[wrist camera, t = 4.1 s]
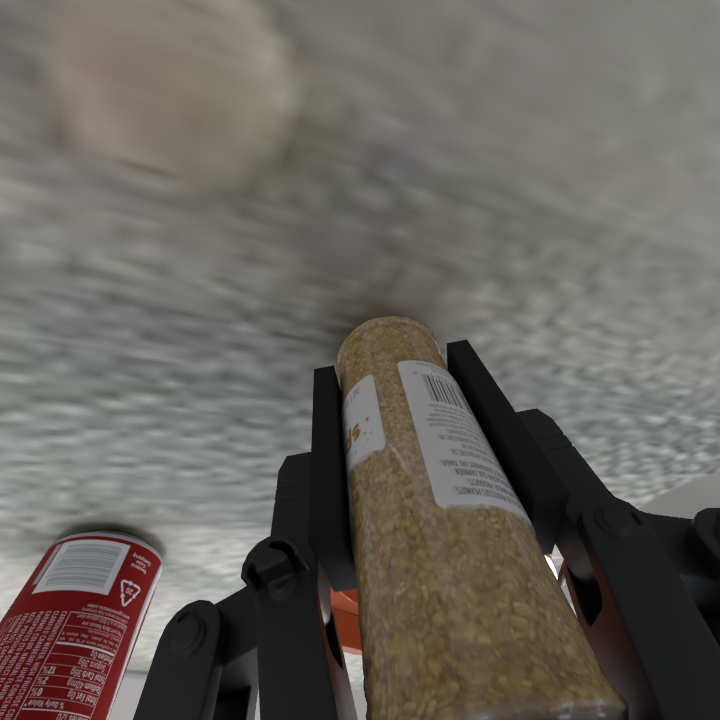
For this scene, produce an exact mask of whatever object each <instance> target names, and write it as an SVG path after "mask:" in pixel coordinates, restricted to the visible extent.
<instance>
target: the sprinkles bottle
mask: <svg viewBox="0 0 720 720" xmlns="http://www.w3.org/2000/svg"><path fill="white" fill-rule="evenodd" d="M336 373H337V376H338V378H339V380H340V388H341V401H342V412H341V422H342V434H343V445H344V456H345V468H346V482H347V496H348V510H349V523H350V536H351V547H352V552H353V556H354V559H355V572H356V583H357V594H358V613H359V630H360V639H361V649H362V661H363V673H364V692H365V698H366V701H367V713H366V720H629V710H628V704H627V702H626V700H625V699H624V698H623V697H622V696H621V695H620V694H619V693H618V692H617V691H616V690H615V688H614V687H613V686H612V684H611V683H610V681H609V680H608V678H607V677H606V675H605V673H604V672H603V670H602V668H601V666H600V663H599V660H598V658H597V656H596V654H595V652H594V650H593V648H592V646H591V644H590V642H589V640H588V638H587V636H586V634H585V632H584V631H583V629H582V627H581V625H580V623H579V621H578V619H577V617H576V615H575V613H574V612H573V610H572V608H571V606H570V604H569V602H568V601H567V599H566V597H565V595H564V593H563V591H562V589H561V587H560V585H559V583H558V581H557V579H556V576H555V574H554V572H553V571H552V569H551V567H550V566H549V564H548V562H547V560H546V557H545V556H544V554H543V552H542V550H541V547H540V545H539V543H538V542H537V540H536V534H535V530H534V528H533V526H532V523H531V521H530V519H529V517H528V515H527V513H526V511H525V510H524V508H523V506H522V504H521V502H520V500H519V498H518V497H517V495H516V493H515V491H514V489H513V487H512V485H511V483H510V481H509V480H508V478H507V476H506V474H505V472H504V470H503V468H502V466H501V464H500V462H499V461H498V459H497V457H496V455H495V453H494V451H493V449H492V447H491V445H490V444H489V442H488V440H487V438H486V436H485V434H484V432H483V430H482V428H481V427H480V425H479V423H478V421H477V419H476V417H475V415H474V413H473V411H472V410H471V408H470V406H469V404H468V402H467V400H466V398H465V396H464V394H463V392H462V391H461V389H460V387H459V385H458V383H457V382H456V380H455V379H454V378H453V377H452V376H451V375H450V374H449V372H448V370H447V368H446V366H445V364H444V361H443V359H442V357H441V352H440V348H439V345H438V342H437V341H436V339H435V337H434V335H433V334H432V333H431V332H430V331H429V330H428V329H427V327H425V326H424V325H423V324H421V323H419V322H417V321H415V320H413V319H410V318H407V317H401V316H387V317H379V318H374V319H370V320H368V321H366V322H365V323H363V324H361V325H359V326H358V327H357V328H356V329H354V330H353V331H352V332H351V334H350V335H349V336H348V337H347V338H346V339H345V340H344V342H343V343H342V345H341V347H340V349H339V352H338V355H337V360H336Z"/></svg>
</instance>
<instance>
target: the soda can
mask: <svg viewBox="0 0 720 720" xmlns="http://www.w3.org/2000/svg"><path fill="white" fill-rule="evenodd" d="M162 570H163V560H162V557H161V555H160V554H159V553H158V552H157V551H156V550H155V549H154V548H153V547H151V546H150V545H149V544H148V543H147V542H145V541H144V540H142V539H141V538H138V537H136V536H134V535H131V534H128V533H124V532H119V531H110V530H99V531H91V532H86V533H79V534H74V535H70V536H67V537H64V538H62V539H60V540H58V541H56V542H55V543H54V544H53V545H52V546H51V547H50V548H49V549H48V551H47V552H46V554H45V555H44V557H43V558H42V560H41V561H40V563H39V564H38V566H37V567H36V569H35V571H34V572H33V574H32V575H31V577H30V578H29V580H28V581H27V583H26V584H25V586H24V587H23V589H22V590H21V592H20V593H19V595H18V596H17V598H16V599H15V601H14V602H13V604H12V605H11V607H10V609H9V610H8V612H7V613H6V615H5V616H4V618H3V619H2V621H1V622H0V720H108V718H109V715H110V712H111V710H112V707H113V704H114V701H115V699H116V696H117V693H118V690H119V688H120V685H121V682H122V679H123V677H124V674H125V671H126V669H127V666H128V663H129V660H130V658H131V655H132V652H133V649H134V647H135V644H136V641H137V638H138V636H139V633H140V630H141V627H142V625H143V622H144V619H145V616H146V614H147V611H148V608H149V606H150V603H151V600H152V597H153V595H154V592H155V589H156V586H157V584H158V581H159V578H160V575H161V573H162Z"/></svg>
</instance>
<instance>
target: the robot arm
mask: <svg viewBox="0 0 720 720" xmlns="http://www.w3.org/2000/svg"><path fill="white" fill-rule="evenodd" d="M447 363H448V372H449V374H450V375H451V376H452V377H453V378H454V379H455V380H456V382H457V383H458V385H459V387H460V389H461V391H462V392H463V394H464V396H465V398H466V400H467V402H468V404H469V406H470V408H471V410H472V411H473V413H474V415H475V417H476V419H477V421H478V423H479V425H480V427H481V428H482V430H483V432H484V434H485V436H486V438H487V440H488V442H489V444H490V445H491V447H492V449H493V451H494V453H495V455H496V457H497V459H498V461H499V462H500V464H501V466H502V468H503V470H504V472H505V474H506V476H507V478H508V480H509V481H510V483H511V485H512V487H513V489H514V491H515V493H516V495H517V497H518V498H519V500H520V502H521V504H522V506H523V508H524V510H525V511H526V513H527V515H528V517H529V519H530V521H531V523H532V526H533V528H534V530H535V534H536V540H537V542H538V543H539V545H540V547H541V550H542V552H543V554H544V555H548V554H552V551H553V548H554V545H555V544H556V546H557V547H558V549H559V551H560V553H561V555H562V556H563V558H564V560H563V563H562V566H561V569H560V572H559V575H558V583H559V585H560V587H563V586H564V584H565V581H566V583H567V586H568V590H569V592H570V596H571V599H572V602H573V605H574V608H575V612H576V615H577V618H578V621H579V623H580V625H581V627H582V629H583V631H584V632H585V634H586V636H587V638H588V640H589V642H590V644H591V646H592V648H593V650H594V652H595V654H596V656H597V658H598V660H599V663H600V666H601V668H602V670H603V672H604V673H605V675H606V677H607V678H608V680H609V681H610V683H611V684H612V686H613V687H614V688H615V690H616V691H617V692H618V693H619V694H620V695H621V696H622V697H623V698H624V699H625V700H626V702H627V704H628V710H629V720H720V508H707V509H704V510H702V511H700V512H698V513H697V515H696V516H695V517H694V519H686V518H678V517H670V516H662V515H654V514H650V513H644V512H642V511H639V510H638V509H636V508H635V507H634V506H632V505H631V504H630V503H628V502H625V501H623V500H621V499H618V498H616V497H615V496H613V495H612V493H611V492H610V491H609V490H608V489H607V488H606V487H605V486H604V484H603V483H602V482H601V480H600V479H599V478H598V477H597V475H596V474H595V473H594V472H593V470H592V469H591V468H590V466H589V465H588V464H587V463H586V461H585V460H584V459H583V457H582V456H581V455H580V454H579V452H578V451H577V450H576V449H575V447H573V446H572V443H571V442H570V441H569V440H568V438H567V437H566V436H565V435H563V432H562V431H561V429H560V428H559V427H558V426H557V424H556V423H555V422H554V420H553V419H552V418H550V417H549V416H547V415H546V414H544V413H543V412H541V411H540V410H538V409H537V408H536V409H531V410H526V411H520V412H515V411H514V409H513V408H512V406H511V405H510V403H509V402H508V400H507V399H506V397H505V396H504V394H503V393H502V391H501V390H500V388H499V387H498V385H497V384H496V382H495V381H494V379H493V378H492V376H491V375H490V373H489V372H488V370H487V369H486V367H485V366H484V365H483V363H482V362H481V360H480V359H479V357H478V356H477V354H476V353H475V351H474V350H473V348H472V347H471V345H470V344H469V342H468V341H467V340H462V341H457V342H452V343H447ZM341 412H342V401H341V391H340V387H339V383H338V379H337V376H336V372H335V368H334V365H333V366H328V367H323V368H318V369H314V390H313V419H312V447H311V452H307V453H302V454H297V455H291V456H287V457H286V459H285V461H284V462H283V464H282V466H281V468H280V470H279V474H278V481H277V490H276V497H275V500H276V502H275V505H274V513H273V521H272V529H271V536H270V537H267V538H266V539H264V540H262V541H261V542H259V543H258V544H257V545H256V546H255V547H254V548H253V549H252V550H251V551H250V552H249V554H248V556H247V558H246V560H245V562H244V564H243V567H242V573H241V579H242V580H243V581H244V582H245V583H246V585H247V586H246V587H244V588H243V589H241V590H240V591H238V592H236V593H234V594H233V595H231V596H229V597H227V598H225V599H223V600H222V601H220V602H218V603H216V604H213V603H211V602H210V601H205V600H198V601H195V602H192V603H190V604H187V605H186V606H185V607H183V608H182V609H181V610H180V611H178V612H177V613H176V614H175V615H174V617H173V618H172V619H171V620H170V622H169V623H168V624H167V625H166V627H165V629H164V632H163V634H162V636H161V638H160V640H159V643H158V646H157V649H156V652H155V655H154V658H153V661H152V664H151V667H150V670H149V673H148V676H147V679H146V682H145V685H144V688H143V691H142V694H141V697H140V700H139V703H138V706H137V709H136V712H135V715H134V718H133V720H254V717H255V710H256V702H257V694H258V687H259V699H260V700H259V701H260V720H358V718H357V714H356V709H355V705H354V700H353V695H352V691H351V686H350V682H349V677H348V673H347V668H346V663H345V659H344V654H343V650H342V645H341V641H340V636H339V631H338V627H337V622H336V618H335V614H334V611H333V609H332V607H331V587H332V589H333V591H334V592H340V591H345V590H351V589H356V588H357V583H356V572H355V559H354V556H353V552H352V547H351V536H350V523H349V510H348V496H347V482H346V468H345V456H344V445H343V434H342V422H341Z"/></svg>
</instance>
